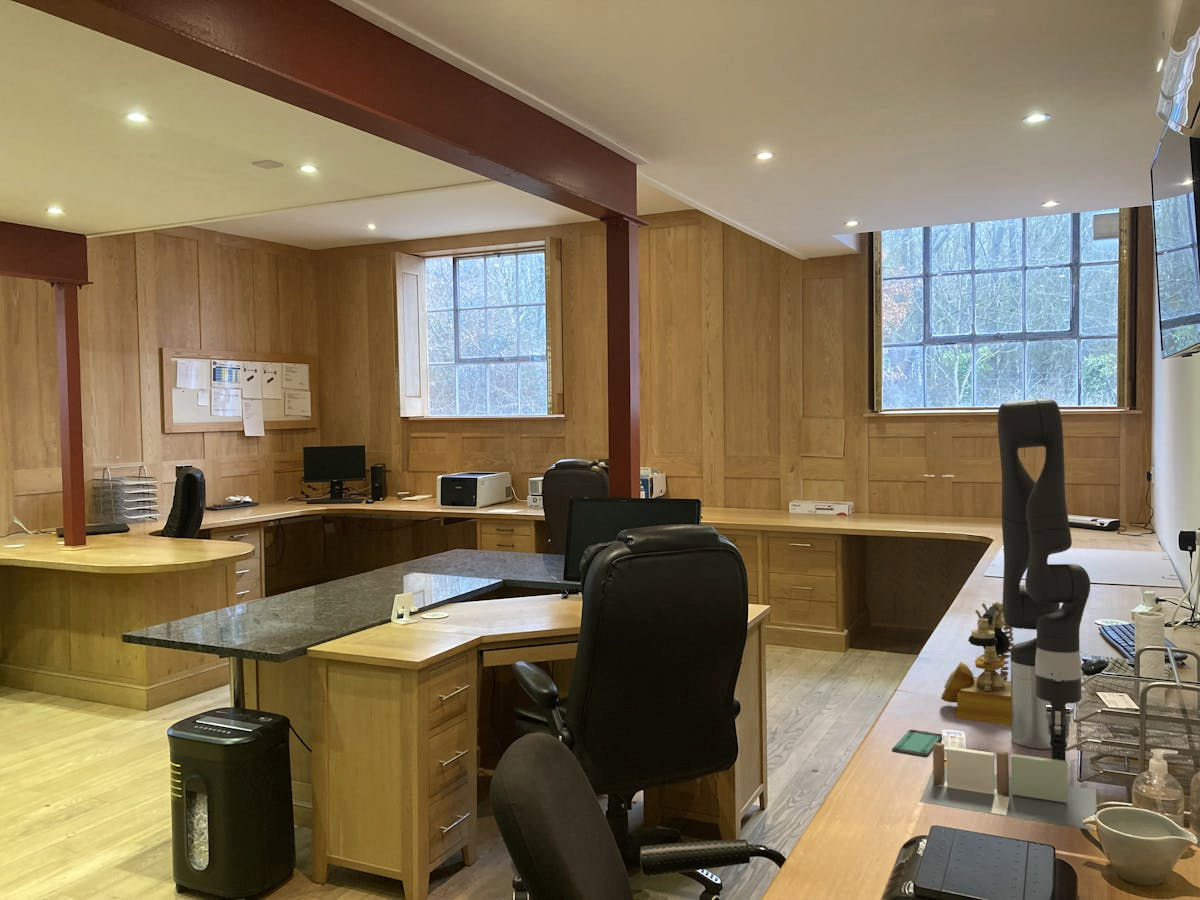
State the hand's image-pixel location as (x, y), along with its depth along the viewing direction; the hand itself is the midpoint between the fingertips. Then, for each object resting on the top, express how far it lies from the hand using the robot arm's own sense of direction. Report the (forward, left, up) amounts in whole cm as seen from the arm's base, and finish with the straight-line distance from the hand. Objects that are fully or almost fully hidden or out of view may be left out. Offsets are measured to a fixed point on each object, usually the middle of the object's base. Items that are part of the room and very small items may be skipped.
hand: (1058, 766), depth 168 cm
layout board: (+7, -8, -5) cm, 12 cm away
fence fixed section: (+6, -14, -4) cm, 16 cm away
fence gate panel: (+6, -3, -4) cm, 8 cm away
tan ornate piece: (-48, -17, -5) cm, 51 cm away
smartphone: (-15, -27, -5) cm, 31 cm away
